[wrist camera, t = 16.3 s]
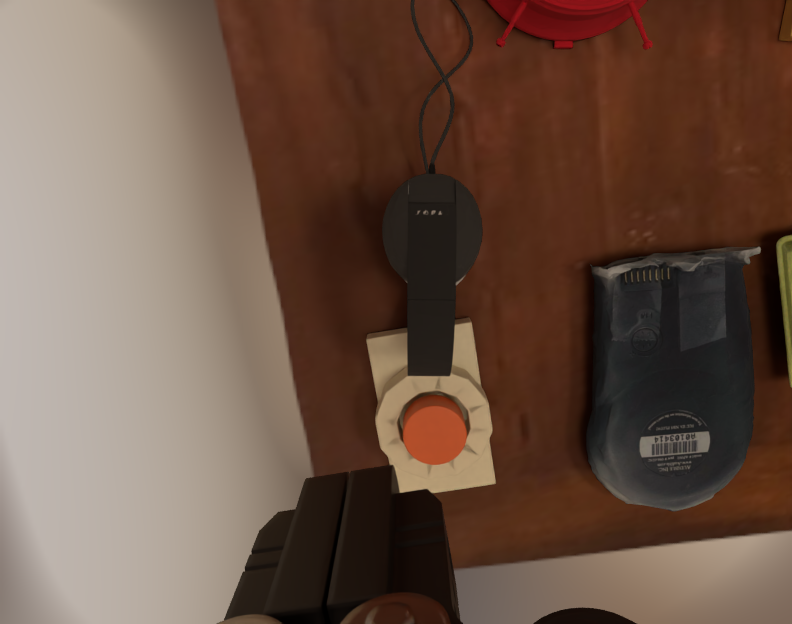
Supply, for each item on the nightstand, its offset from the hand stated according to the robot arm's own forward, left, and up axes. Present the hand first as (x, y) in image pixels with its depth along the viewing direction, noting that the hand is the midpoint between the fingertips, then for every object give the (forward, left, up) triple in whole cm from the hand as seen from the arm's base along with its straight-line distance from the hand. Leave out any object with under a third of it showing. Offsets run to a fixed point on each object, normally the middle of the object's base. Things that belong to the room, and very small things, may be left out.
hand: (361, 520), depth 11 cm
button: (+8, +3, -24) cm, 26 cm away
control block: (+8, +3, -27) cm, 28 cm away
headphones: (-6, +1, -27) cm, 28 cm away
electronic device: (+5, +16, -27) cm, 32 cm away
